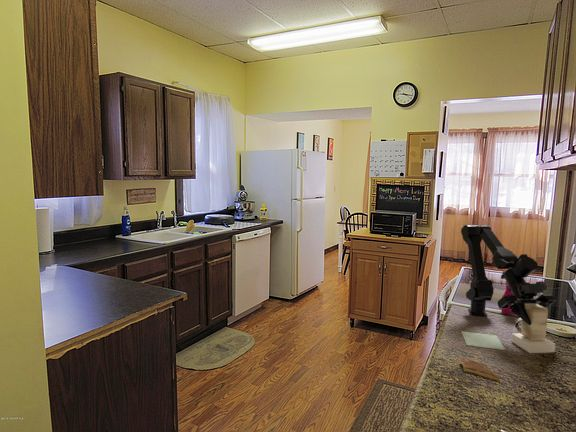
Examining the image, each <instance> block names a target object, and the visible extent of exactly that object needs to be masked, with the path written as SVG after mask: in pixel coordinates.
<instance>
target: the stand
mask: <svg viewBox="0 0 576 432" xmlns="http://www.w3.org/2000/svg"><path fill="white" fill-rule="evenodd" d="M521 333H522V332H519V333H517V332H515V333H512V334H511V343H514V344H515V345H517V346H518V347H520V348H521V349H523V350H524V351H526V352H528V354H544V353H555V352H556V343H554V342H553V341H551V340H550V339H547V338H545V340H530V339H529V338H527V337H525V336H524V335H522V334H521Z"/></svg>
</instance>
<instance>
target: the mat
mask: <svg viewBox="0 0 576 432" xmlns="http://www.w3.org/2000/svg"><path fill="white" fill-rule="evenodd" d="M461 335H462V336H463V339H464V341H465V344H466V346H468V347H476V348H484V349H492V350H499V351H500V350H501V351H506V348H505V346H504V345H503V344H502V342H501V340H500V338H499V337H498V336H497V334H496V335H495V334H488V333H478V332H469V331H463V330H462V331H461Z"/></svg>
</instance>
